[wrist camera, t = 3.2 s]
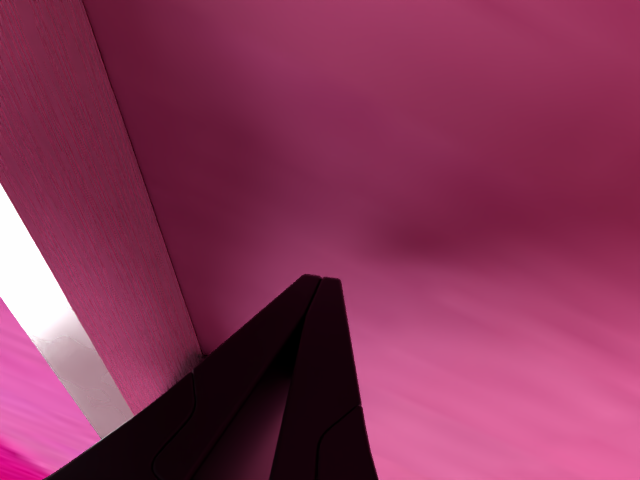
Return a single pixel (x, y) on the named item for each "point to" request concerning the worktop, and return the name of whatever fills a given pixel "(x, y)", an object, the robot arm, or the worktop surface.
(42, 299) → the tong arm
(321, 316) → the robot arm
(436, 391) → the worktop surface
